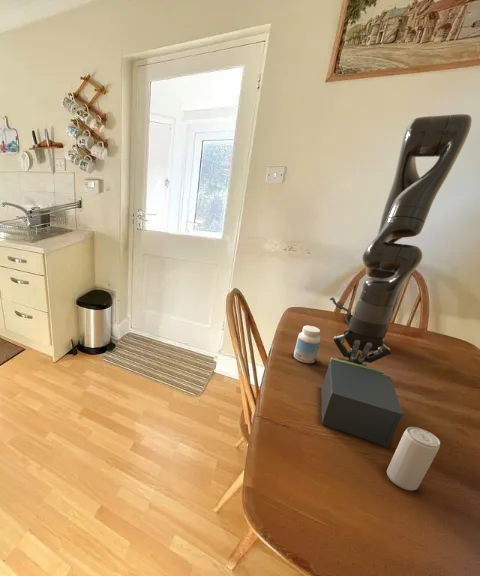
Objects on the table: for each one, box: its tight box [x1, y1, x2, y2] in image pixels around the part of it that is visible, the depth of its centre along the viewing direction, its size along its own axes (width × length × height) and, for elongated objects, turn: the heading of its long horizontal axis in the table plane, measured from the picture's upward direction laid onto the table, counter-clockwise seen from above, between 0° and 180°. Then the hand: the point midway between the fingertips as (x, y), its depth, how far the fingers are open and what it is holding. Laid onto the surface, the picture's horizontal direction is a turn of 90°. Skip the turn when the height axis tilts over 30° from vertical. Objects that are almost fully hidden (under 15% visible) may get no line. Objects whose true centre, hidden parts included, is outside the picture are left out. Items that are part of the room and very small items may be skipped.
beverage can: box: [386, 426, 441, 491], centre depth 61 cm, size 5×5×12 cm
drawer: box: [329, 357, 385, 375], centre depth 84 cm, size 20×11×8 cm, turn 146°
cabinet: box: [320, 360, 404, 448], centre depth 78 cm, size 16×13×10 cm
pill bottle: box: [293, 325, 322, 364], centre depth 102 cm, size 6×6×11 cm
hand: (351, 370), depth 90 cm, fingers closed
